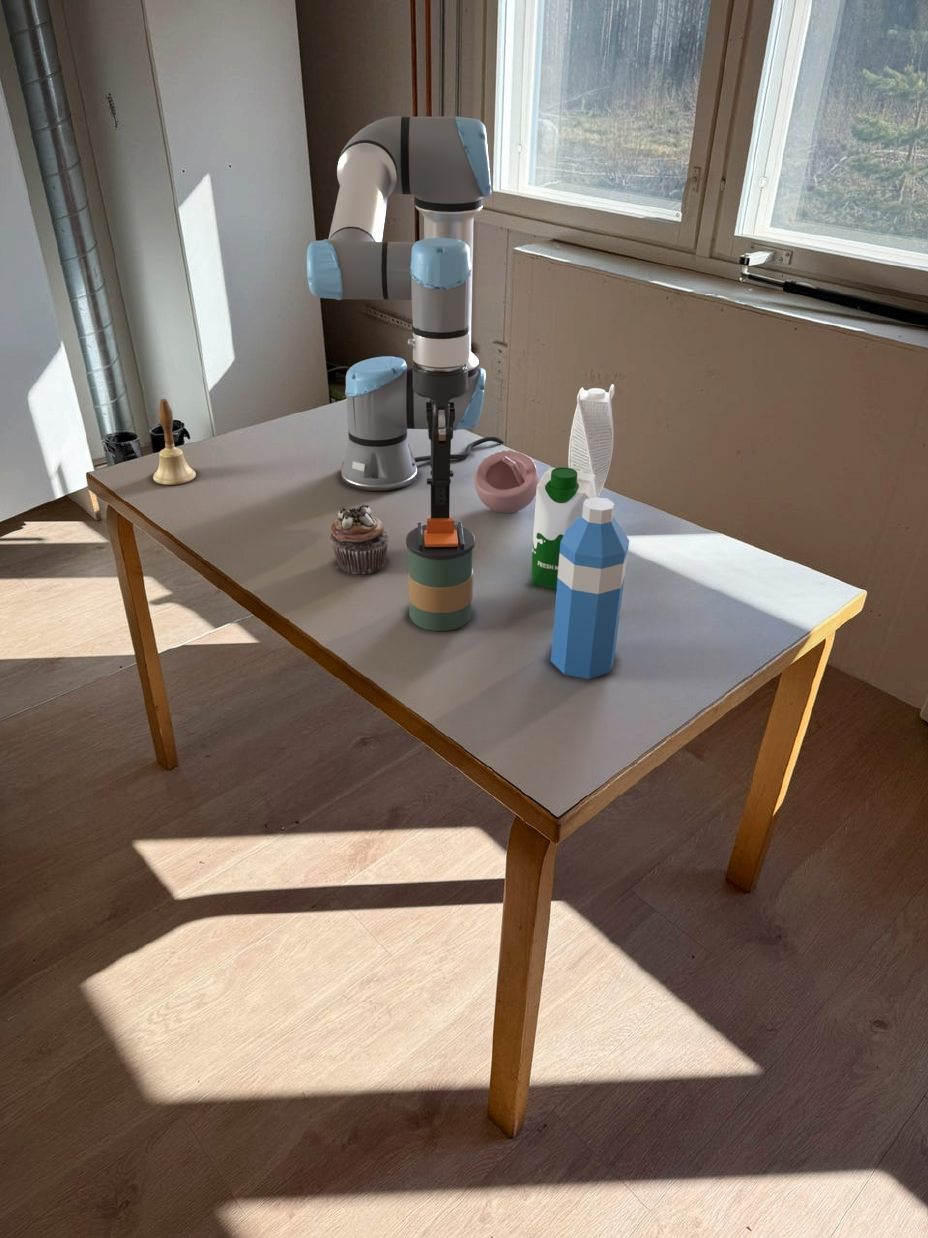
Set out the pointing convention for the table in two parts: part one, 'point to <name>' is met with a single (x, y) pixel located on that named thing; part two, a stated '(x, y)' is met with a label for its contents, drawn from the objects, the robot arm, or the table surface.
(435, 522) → the slider
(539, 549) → the milk carton
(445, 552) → the mug lid
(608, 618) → the water bottle
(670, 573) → the table surface
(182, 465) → the hand bell
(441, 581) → the travel mug
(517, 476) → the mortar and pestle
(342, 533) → the cupcake
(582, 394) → the skyscraper
